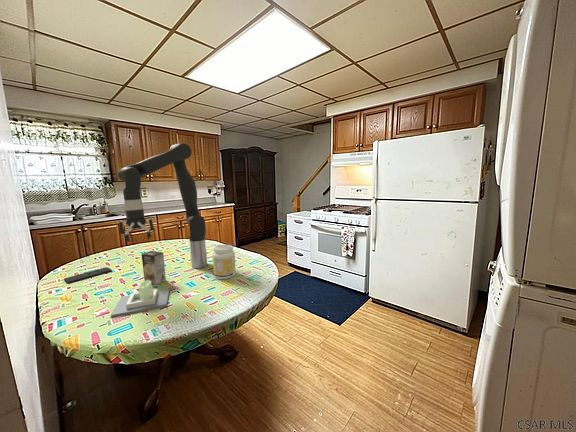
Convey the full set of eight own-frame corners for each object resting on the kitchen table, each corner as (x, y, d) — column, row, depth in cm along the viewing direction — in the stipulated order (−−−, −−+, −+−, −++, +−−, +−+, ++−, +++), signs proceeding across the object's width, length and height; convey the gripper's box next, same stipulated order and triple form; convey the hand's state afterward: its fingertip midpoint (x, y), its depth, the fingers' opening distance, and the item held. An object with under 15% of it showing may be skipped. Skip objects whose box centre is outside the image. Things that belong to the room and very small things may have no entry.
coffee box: (143, 282, 124) (140, 254, 122) (154, 277, 130) (151, 250, 128) (156, 284, 121) (153, 255, 119) (166, 279, 127) (163, 252, 125)
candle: (147, 303, 102) (144, 285, 100) (137, 302, 103) (135, 284, 101) (155, 297, 106) (153, 280, 105) (146, 296, 107) (144, 279, 106)
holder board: (169, 290, 115) (168, 284, 115) (166, 306, 101) (165, 300, 100) (121, 298, 108) (120, 292, 107) (110, 317, 93) (109, 310, 93)
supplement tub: (220, 270, 139) (218, 243, 137) (239, 271, 137) (237, 244, 134) (209, 279, 127) (207, 249, 125) (230, 280, 125) (228, 251, 122)
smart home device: (112, 269, 140) (67, 281, 124) (112, 272, 140) (68, 284, 124) (106, 266, 145) (63, 278, 128) (107, 269, 145) (64, 281, 129)
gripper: (151, 206, 120) (155, 236, 123) (118, 209, 115) (123, 240, 117) (150, 208, 114) (154, 239, 117) (115, 210, 108) (120, 244, 111)
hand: (139, 240), depth 117 cm, fingers open, 8 cm apart
